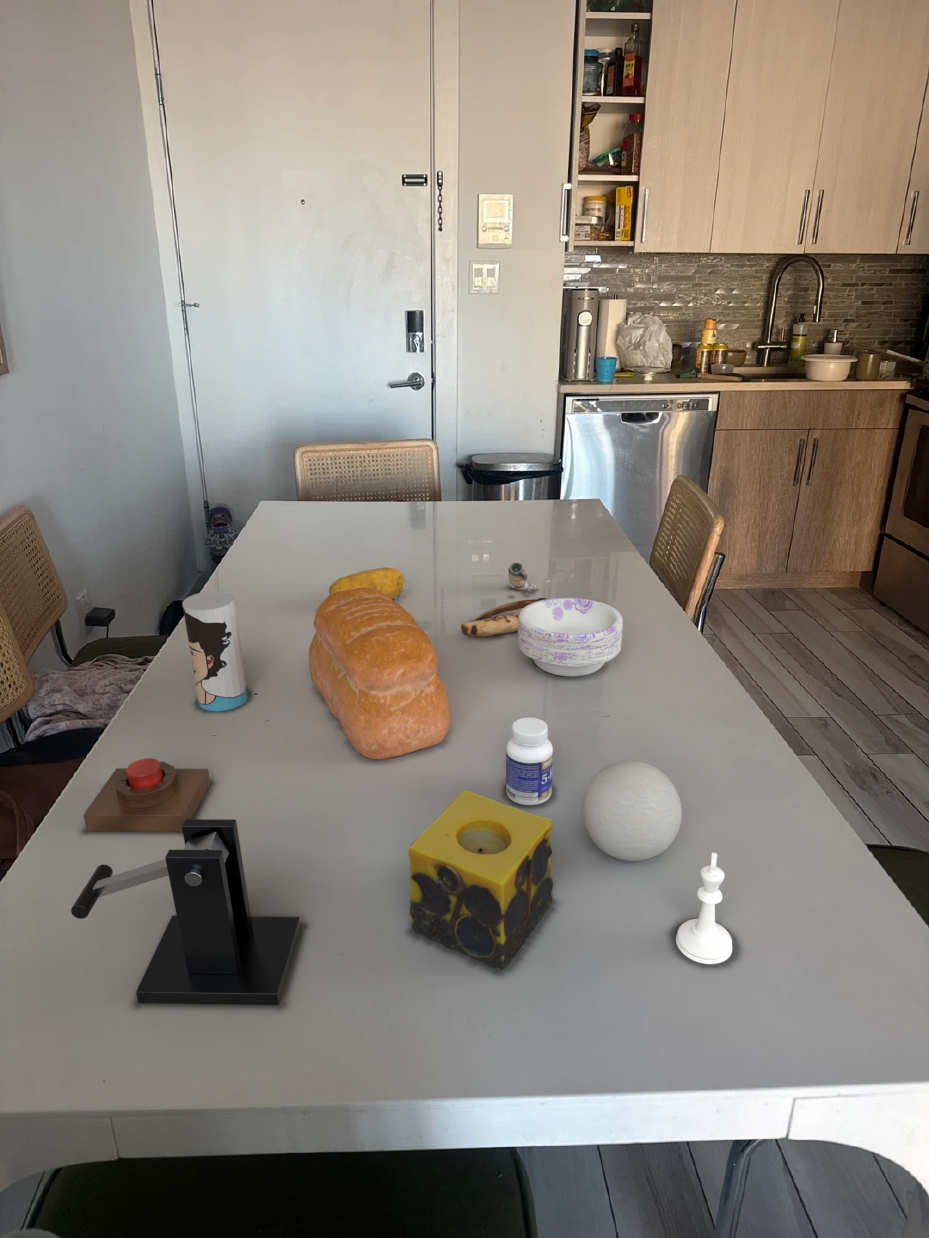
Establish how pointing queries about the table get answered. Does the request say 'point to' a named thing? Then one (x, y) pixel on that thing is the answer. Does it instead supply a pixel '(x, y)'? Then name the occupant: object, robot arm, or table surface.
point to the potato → (372, 581)
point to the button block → (148, 802)
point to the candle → (481, 878)
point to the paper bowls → (570, 635)
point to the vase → (518, 577)
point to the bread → (378, 674)
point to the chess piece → (706, 923)
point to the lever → (134, 875)
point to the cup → (215, 650)
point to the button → (144, 773)
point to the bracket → (217, 931)
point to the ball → (631, 810)
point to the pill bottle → (529, 762)
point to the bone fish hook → (496, 620)
